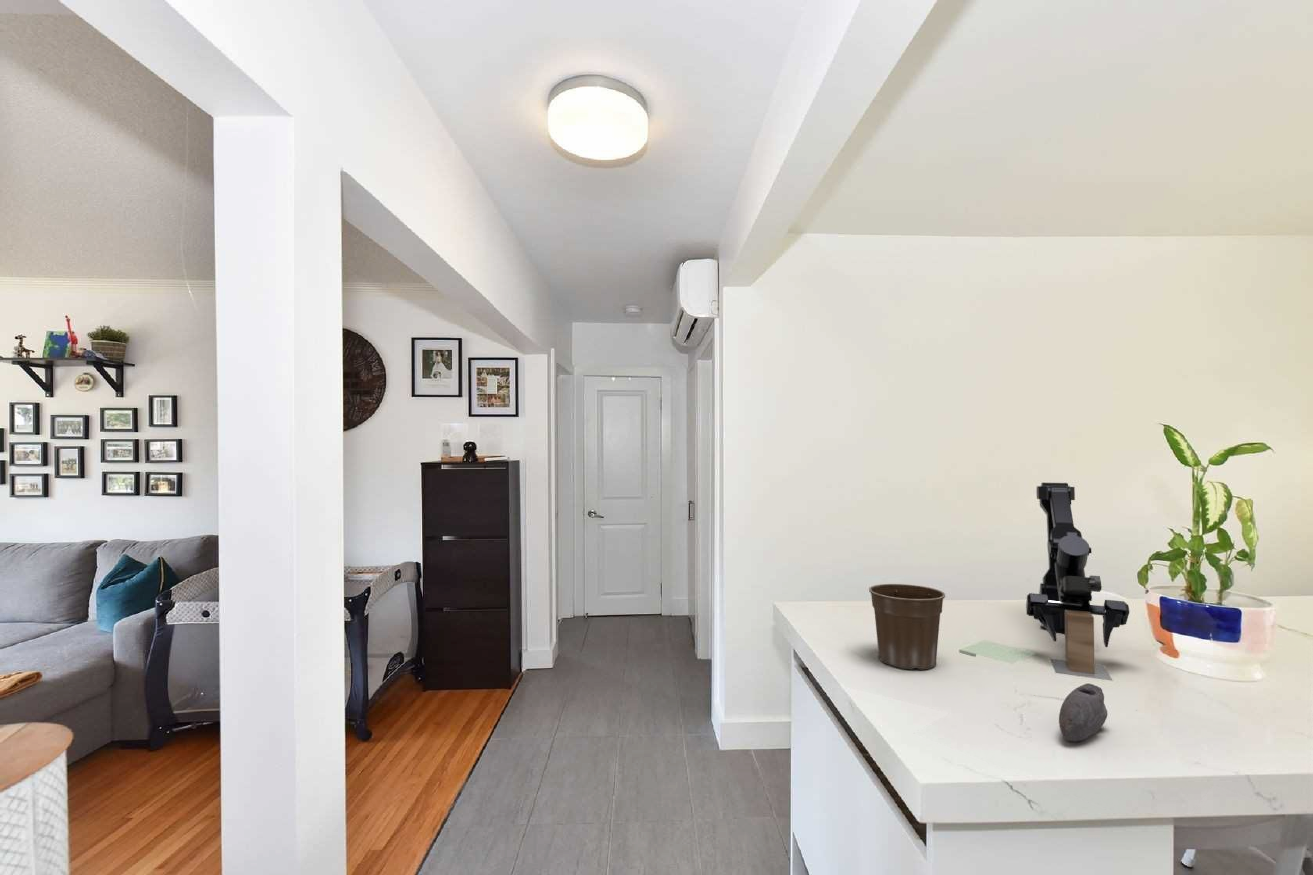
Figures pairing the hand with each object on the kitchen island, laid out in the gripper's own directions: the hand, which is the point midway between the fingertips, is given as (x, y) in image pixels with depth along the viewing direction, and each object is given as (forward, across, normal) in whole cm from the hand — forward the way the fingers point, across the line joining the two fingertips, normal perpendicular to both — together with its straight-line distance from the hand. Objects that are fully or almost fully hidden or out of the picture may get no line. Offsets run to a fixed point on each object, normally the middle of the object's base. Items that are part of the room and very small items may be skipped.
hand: (1080, 643), depth 132 cm
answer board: (0, -15, +10) cm, 18 cm away
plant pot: (+10, -34, -1) cm, 36 cm away
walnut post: (+3, 0, +5) cm, 6 cm away
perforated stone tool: (+28, -5, -18) cm, 34 cm away
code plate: (+4, 0, +6) cm, 7 cm away
